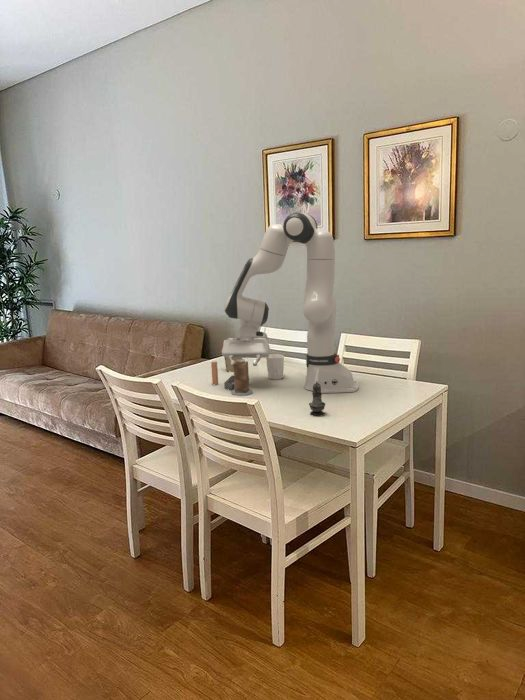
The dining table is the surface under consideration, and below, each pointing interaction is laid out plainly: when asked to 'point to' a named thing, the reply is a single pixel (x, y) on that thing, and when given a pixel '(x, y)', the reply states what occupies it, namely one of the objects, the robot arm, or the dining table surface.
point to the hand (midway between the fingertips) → (243, 365)
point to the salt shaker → (317, 401)
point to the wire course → (227, 384)
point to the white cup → (275, 366)
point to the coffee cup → (228, 364)
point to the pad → (242, 393)
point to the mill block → (241, 376)
